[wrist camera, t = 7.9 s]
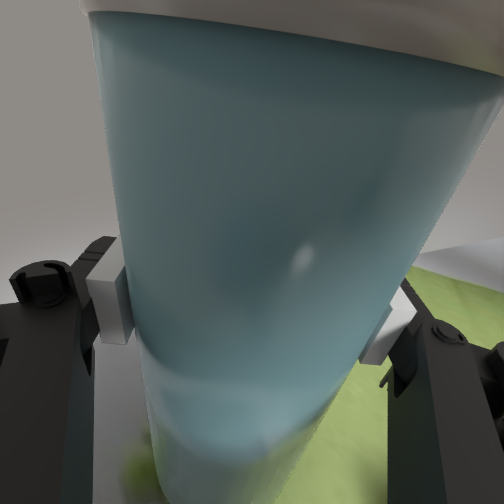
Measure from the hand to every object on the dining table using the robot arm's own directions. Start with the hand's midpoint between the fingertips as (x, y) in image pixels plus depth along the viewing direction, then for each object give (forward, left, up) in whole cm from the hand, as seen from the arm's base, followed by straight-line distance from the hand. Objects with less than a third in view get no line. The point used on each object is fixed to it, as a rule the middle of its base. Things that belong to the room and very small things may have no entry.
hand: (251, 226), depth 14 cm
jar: (0, +5, -12) cm, 13 cm away
